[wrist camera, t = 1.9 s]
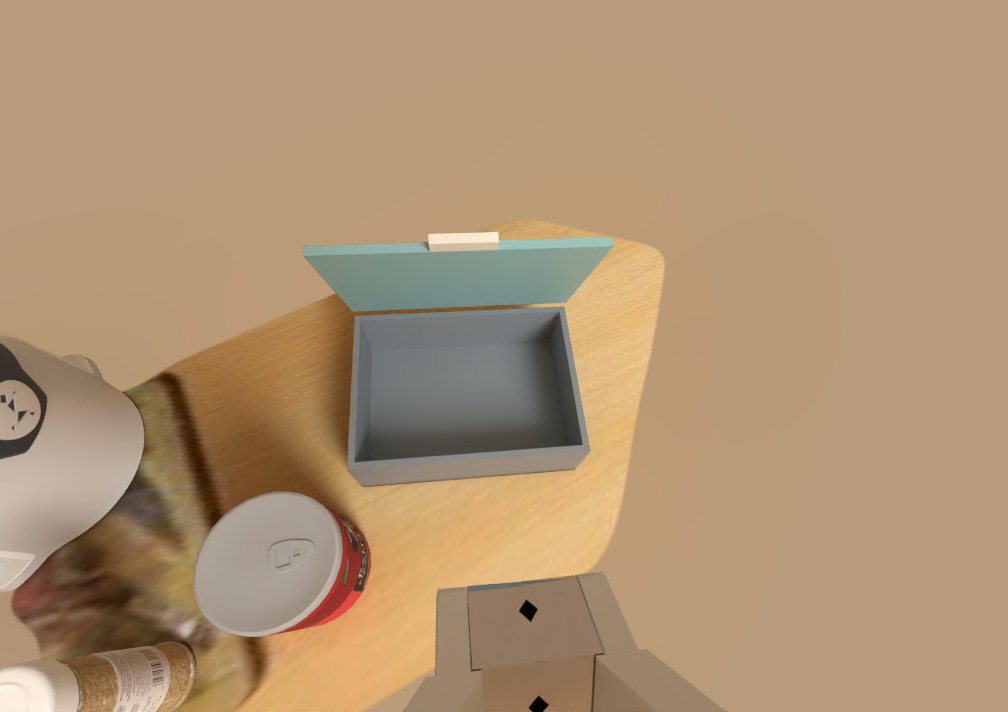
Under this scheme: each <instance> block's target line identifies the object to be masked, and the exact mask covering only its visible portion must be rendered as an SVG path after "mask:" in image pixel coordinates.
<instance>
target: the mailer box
mask: <svg viewBox="0 0 1008 712" xmlns="http://www.w3.org/2000/svg"><path fill="white" fill-rule="evenodd" d="M589 452H590V446H589V441H588V435H587V430H586V424H585V419H584V413H583V408H582V402H581V397H580V391H579V386H578V380H577V375H576V369H575V364H574V358H573V353H572V347H571V342H570V336H569V331H568V325H567V320H566V314H565V309H564V307H544V308H521V309H499V310H476V311H454V312H431V313H408V314H386V315H363V316H355V320H354V340H353V360H352V379H351V399H350V419H349V438H348V458H347V470H348V472H349V473H350V474H351V475H352V476H353V477H354V478H355V479H356V480H357V481H358V482H359V483H360V484H361V486H362V487H371V486H383V485H395V484H407V483H420V482H432V481H444V480H456V479H468V478H481V477H493V476H505V475H517V474H529V473H542V472H554V471H566V470H575V468H576V467H577V466H578V465H579V464H580V463H581V461H582V460H583V459H584V458H585V457H586V455H587V454H588V453H589Z"/></svg>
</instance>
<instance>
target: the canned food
mask: <svg viewBox="0 0 1008 712" xmlns="http://www.w3.org/2000/svg"><path fill="white" fill-rule="evenodd" d="M370 567H371V555H370V549H369V546H368V542H367V541H366V539H365V537H364V535H363V534H362V532H361V531H360V530H359V529H358V528H357V527H356V526H355V525H353V524H352V523H350V522H349V521H348V520H346V519H345V518H343V517H342V516H340V515H339V514H337V513H336V512H334V511H333V510H331V509H330V508H328V507H327V506H326V505H324V504H323V503H321V502H319V501H317V500H316V499H314V498H311V497H309V496H307V495H304V494H300V493H294V492H289V491H278V492H270V493H265V494H261V495H258V496H255V497H253V498H250V499H248V500H246V501H244V502H242V503H241V504H239V505H237V506H235V507H234V508H233V509H231V510H230V511H229V512H228V513H226V514H225V515H224V516H223V517H222V518H221V519H220V520H219V521H218V522H217V523H216V524H215V525H214V526H213V527H212V529H211V530H210V532H209V533H208V535H207V536H206V538H205V539H204V541H203V543H202V545H201V547H200V549H199V552H198V554H197V558H196V561H195V565H194V570H193V589H194V596H195V598H196V601H197V604H198V606H199V609H200V610H201V611H202V613H203V614H204V616H205V617H206V618H207V620H209V621H210V622H211V623H212V624H214V625H215V626H216V627H217V628H219V629H221V630H224V631H226V632H228V633H230V634H236V635H241V636H247V637H254V636H267V635H274V634H279V633H284V632H289V631H294V630H299V629H304V628H309V627H314V626H318V625H322V624H325V623H328V622H330V621H332V620H334V619H336V618H338V617H339V616H341V615H342V614H343V613H345V612H346V611H347V610H348V609H349V608H350V607H351V606H352V605H353V604H354V603H355V602H356V601H357V599H358V598H359V596H360V595H361V594H362V592H363V590H364V588H365V586H366V584H367V580H368V577H369V574H370Z"/></svg>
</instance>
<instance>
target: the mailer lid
mask: <svg viewBox="0 0 1008 712" xmlns="http://www.w3.org/2000/svg"><path fill="white" fill-rule="evenodd" d="M428 241H429V242H427V243H426V242H424V243H390V244H354V245H319V246H304V247H303V249H304V250H303V252H304V257H305V258H306V259H307V260H308V261H309V263H310V264H311V265H312V266H313V267H314V268H315V270H316V271H317V272H318V273H319V274H320V275H321V276H322V277H323V279H324V280H325V281H326V282H327V283H328V284H329V285H330V287H331V288H332V289H333V290H334V291H335V292H336V294H337V295H338V296H339V297H340V298H341V299H342V300H343V302H344V303H345V304H346V305H347V306H348V307H349V308H350V310H351V311H352V312H359V311H383V310H406V309H429V308H452V307H475V306H498V305H521V304H544V303H566V302H567V300H568V299H569V298H570V297H571V296H572V295H573V293H574V292H575V291H576V290H577V289H578V287H579V286H580V285H581V284H582V283H583V281H584V280H585V279H586V278H587V277H588V276H589V274H590V273H591V272H592V271H593V270H594V268H595V267H596V266H597V265H598V264H599V263H600V261H601V260H602V259H603V258H604V257H605V255H606V254H607V253H608V252H609V251H610V249H611V248H612V247H613V240H612V237H598V238H563V239H529V240H499V238H498V232H487V233H451V234H428Z"/></svg>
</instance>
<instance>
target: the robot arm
mask: <svg viewBox="0 0 1008 712" xmlns="http://www.w3.org/2000/svg"><path fill="white" fill-rule="evenodd" d="M143 447H144V427H143V422H142V419H141V416H140V414H139V411H138V409H137V408H136V406H135V405H134V403H133V402H132V401H131V400H130V399H129V398H128V397H127V396H126V395H125V394H123V393H122V392H121V391H119V390H117V389H116V388H114V387H112V386H111V385H109V384H108V383H106V382H105V381H104V380H103V378H102V376H101V373H100V372H99V370H98V368H97V366H96V365H95V363H94V362H93V361H92V360H90V359H88V358H86V357H83V356H81V355H70V356H66V357H58V356H56V355H54V354H51V353H50V352H47V351H45V350H43V349H41V348H39V347H37V346H34V345H32V344H30V343H28V342H26V341H24V340H21V339H19V338H17V337H15V336H12V335H9V334H3V333H0V593H1V592H8V591H12V590H14V589H16V588H17V587H19V586H20V585H21V584H23V583H24V582H25V581H26V580H27V579H28V578H29V577H30V576H31V575H32V574H33V573H34V572H35V571H36V570H37V569H38V568H39V566H40V565H41V564H42V563H43V562H44V561H45V560H46V559H47V558H48V556H49V555H50V554H52V553H53V552H54V551H56V550H57V549H58V548H60V547H61V546H63V545H65V544H66V543H68V542H69V541H71V540H73V539H74V538H76V537H77V536H79V535H81V534H82V533H83V532H85V531H86V530H88V529H89V528H90V527H92V526H93V525H94V524H95V523H97V522H98V521H99V520H100V519H101V518H102V517H103V516H104V515H105V514H107V513H108V511H109V510H110V509H111V508H112V507H113V506H114V505H115V504H116V503H117V501H118V500H119V499H120V498H121V496H122V495H123V494H124V492H125V491H126V489H127V488H128V486H129V484H130V483H131V481H132V479H133V477H134V475H135V473H136V471H137V469H138V466H139V463H140V460H141V457H142V452H143ZM467 599H468V604H467ZM468 618H469V620H468ZM403 712H726V711H725V710H724V709H722V708H721V707H720V706H718V705H717V704H716V703H715V702H713V701H712V700H711V699H710V698H708V697H707V696H706V695H704V694H703V693H702V692H701V691H699V690H698V689H697V688H695V687H694V686H693V685H691V684H690V683H689V682H688V681H687V680H685V679H684V678H683V677H681V676H680V675H679V674H678V673H676V672H675V671H674V670H673V669H671V668H670V667H669V666H668V665H666V664H665V663H664V662H662V661H661V660H660V659H659V658H657V657H656V656H655V655H653V654H652V653H651V652H650V651H648V650H638V648H637V646H636V643H635V641H634V639H633V637H632V635H631V632H630V630H629V628H628V625H627V623H626V621H625V618H624V616H623V614H622V612H621V609H620V608H619V605H618V602H617V600H616V598H615V596H614V593H613V591H612V589H611V587H610V584H609V582H608V580H607V578H606V575H604V574H603V573H602V572H596V573H588V574H580V575H575V576H564V577H556V578H547V579H538V580H530V581H521V582H513V583H501V584H488V585H476V586H467V590H466V587H461V588H447V589H438V592H437V600H436V650H435V676H431V677H426V678H425V679H424V681H423V682H422V684H421V685H420V687H419V688H418V690H417V691H416V693H415V694H414V696H413V697H412V699H411V701H410V702H409V704H408V705H407V707H406V708H405V710H404V711H403Z"/></svg>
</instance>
